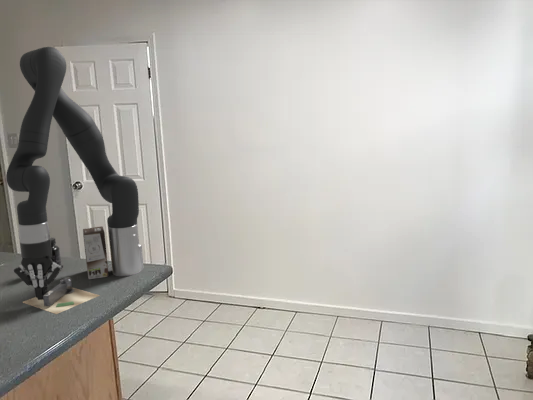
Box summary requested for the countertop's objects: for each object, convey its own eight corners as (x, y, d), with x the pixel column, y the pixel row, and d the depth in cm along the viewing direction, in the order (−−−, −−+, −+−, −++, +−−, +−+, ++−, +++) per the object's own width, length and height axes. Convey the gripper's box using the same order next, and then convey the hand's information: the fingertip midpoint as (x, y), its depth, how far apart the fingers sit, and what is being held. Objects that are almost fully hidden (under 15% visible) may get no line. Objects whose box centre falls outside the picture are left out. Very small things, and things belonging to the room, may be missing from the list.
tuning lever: (64, 288, 142) (63, 277, 141) (74, 288, 141) (73, 277, 141) (41, 306, 129) (40, 294, 129) (52, 306, 129) (50, 294, 128)
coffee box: (109, 280, 152) (104, 232, 149) (88, 283, 150) (83, 234, 147) (107, 271, 161) (103, 225, 157) (87, 274, 158) (82, 228, 155)
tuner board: (66, 290, 146) (65, 284, 145) (100, 300, 137) (99, 294, 137) (22, 307, 134) (21, 301, 134) (57, 319, 126) (56, 313, 125)
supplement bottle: (36, 275, 159) (31, 240, 157) (53, 268, 165) (49, 235, 163) (49, 278, 156) (45, 243, 154) (67, 271, 162) (62, 237, 160)
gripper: (65, 234, 132) (71, 292, 136) (17, 235, 132) (24, 294, 135) (54, 241, 125) (60, 303, 128) (3, 243, 124) (11, 304, 128)
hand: (42, 298), depth 132 cm, fingers closed
